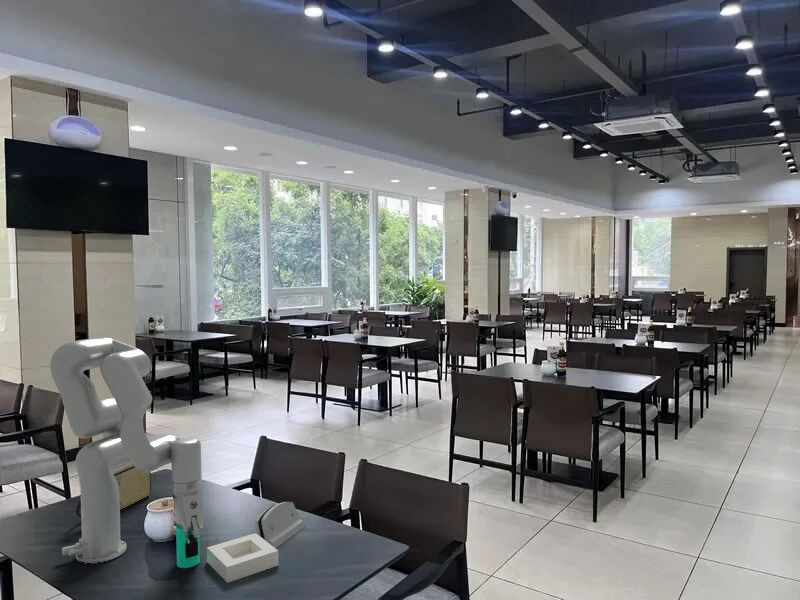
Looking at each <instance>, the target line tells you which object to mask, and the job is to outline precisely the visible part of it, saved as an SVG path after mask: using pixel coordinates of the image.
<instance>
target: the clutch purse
mask: <svg viewBox="0 0 800 600" xmlns="http://www.w3.org/2000/svg"><path fill="white" fill-rule="evenodd" d="M151 473H152V471H151V472H141V471H139V470H137V469H136V468H135V467H134V466H133V464H132V463H131V462H130V463H128V464H126V465H124V466H122V467H120V468H118V469H116V470H114V471H113V475H114V477H115V479H116V480H117V482H118V485H119V500H120V510H121V509H123V508H125V507H127V506H129V505H131V504H133V503H135V502H137V501H139V500H141V499H143V498H145V497H146V498H148V497H147V496H149V495H150V496H151V492H152V481H151V478H152V474H151ZM150 496H149V497H150ZM146 498H145V499H146ZM143 500H144V499H143ZM141 501H142V500H141ZM139 502H140V501H139ZM137 503H138V502H137ZM135 504H136V503H135ZM133 505H134V504H133ZM131 506H132V505H131ZM129 507H130V506H129ZM127 508H128V507H127ZM125 509H126V508H125ZM123 510H124V509H123ZM121 511H122V510H121ZM80 512H81V498H80V499H79V502H78V504H77V506H76V509H75V513H76V515H77V517H78V518H79V519H81V513H80Z"/></svg>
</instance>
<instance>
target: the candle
mask: <svg viewBox="0 0 800 600" xmlns="http://www.w3.org/2000/svg"><path fill="white" fill-rule="evenodd" d="M198 529H199V530H200V528H199V527H198ZM188 530H192V528H188ZM192 533H193V532H191V533H189V537H190V535H192ZM175 538H176V541H175V542H176V543H175V545H176V567H178V568H181V569H189V568H193V567H196V566H197V565H199V564H200V563H201V557H200V555H201V547H200V546H201V545H200V544H201V542H200V535H199V536H198V555H196V556H193V557H190V558H186V557H185V543H187V541H186V532H184V531H183V529H181V528H180V527H179V526H178V524H176V525H175Z"/></svg>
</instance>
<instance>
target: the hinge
mask: <svg viewBox="0 0 800 600" xmlns="http://www.w3.org/2000/svg"><path fill="white" fill-rule="evenodd" d="M254 524H255V529H256V534H258V535H259V536H260V537H261V538H263V539H264V540H265V541H267V542H268V543H269V544H270V545H272V546H273V547H274V548H276V547H277V548H278V547H279V546H281V545H282V544H284V543H285V542H286V541H288V540H289V539H291V538H292V537H294V535H295V534H297V533H299V532H300V531H301V530H303V529H304V528H306V526H305V522H304V520H303V519H302V518H301V519H300V515H299V513H298V512H297V509H296V506H295V504H294V502H293V501H283V502H280V503H275V504H273V505H272V506H269V507H268V508H267V509H265V510H264V511H262V512H261V514H259V516H258V517H257V519H256V521H255V523H254ZM277 548H276V549H277Z"/></svg>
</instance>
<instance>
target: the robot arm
mask: <svg viewBox="0 0 800 600" xmlns="http://www.w3.org/2000/svg"><path fill="white" fill-rule="evenodd" d="M49 363H50V365H49V370H50V374H51V377H52V380H53V382H54V384H55V386H56V389H57V390H58V392H59V395H60V397H61V401H62V405H63V407H64V408H63V409H64V411H65V414H66V416H67V420H68V423H69V426H70V429H71V432H72V433H73V435H74V436H75V437H76V438H79V439H88V438H93V437H97V436H99V435H101V434H102V436H103V438H100V439H97V440H95V441H92V442H90V443H88V444H86V445H84V446H83V447H81V449H80V450H79V451H78V453H77V454H76V458H75V468H76V469H75V470H76V472H77V475H78V479H79V480H78V481H79V488H80V499H81V507H80V512H81V513H80V515H81V518H80V520H81V538H79V540H78V542H75V544H74V545H69V546H68V545H67V546H64V547H62V548H61V550H62V556H65V555H68V556H69V557H71V556H75V559H77V560H78V561H77V560H76V561H77V562H79V561H81V562H85V563H84V564H87V563H91V564H99V563H98V562H100V563H104V561H105V562H107V561H108V562H109V561H112V560H113V559H116V558H119V557H120V556H122V555H123V554H125V552H126V550H127V546H128V545H127V543H126V541H124V540H121V511H120V500H119V485H118V482H117V480H116V479H115V477H114V475H113V471H114V470H116V469H118V468H120V467H122V466H124V465H126V464H128V463H130V462H131V463H132V464H133V466H134V467H135V468H136V469H137V470H139V471H141V472H151V473H152V472H153V471H156V470H158V469H160V468H162V467H163V466H166V465H169V464H171V494H172V495H173V496H174V503H173V504H174V506H173V507H174V508H173V509H174V510H173V511H174V514H173V515H174V522H175V524H176V525H177V524H178V526H179V527H180V528H181V529H183V531H184V532H186V541H187V543H185V557H186V558H190V557H193V556H196V555H198V536H199V537H200V530H202V529H203V528H204V526H205V525H204V511H203V501H202V500H203V499H202V493H201V491H202V490H203V484H202V483H203V482H202V481H203V480H202V476H203V475H202V444H201V443H202V442H201V441H200V439H198V438H195V437H180V436H176V435H173V434H165V435H161V436H159V437H156V438H153V439H152V440H149V438H148V436H147V434H146V431H145V430H144V429H145V428H144V422H143V420H144V416H145V413H146V411H147V409H148V407H149V406H150V405H151V403H152V402H153V396H152V394H151V391H150V390H149V389H148V387H147V385H146V383H145V381H144V377H146V376H147V375H148V374H149V373H150V371H151V368H152V365H151V360H150V358H149V356H148V355H147V354H146V353H145V351H143V350H141V349H140V348H137V347H135V346H132V345H130V344H127V343H125V342H122V341H120V340H119V341H118V340H117V339H114V338H111V337H95V338H86V339H78V340H73V341H69V342H66V343H64V344H62V345H61V346H59V347H58V348H57V349H56V350H55V351H54V353H53V354H52V356H51V359H50V362H49ZM97 368H99V371H100V374H101V377H102V378H103V379H104V382H105V384H106V386H107V387H108V390H109V392H110V394H111V395H112V397H105V398H101V399H100V398H99V395H98V393H97V389H96V387H95V385H94V383H93V381H92V380H91V379H90V378H89V377H88V376H87V375H86V374H84V371H88V370H93V369H97ZM198 527H199V529H198ZM188 528H192V530H188ZM191 532H193V533H192V535H190V537H189V533H191ZM81 562H80V563H81Z"/></svg>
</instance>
